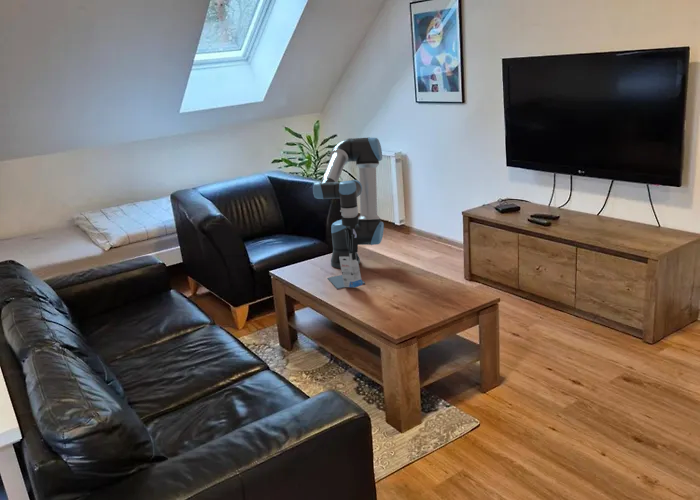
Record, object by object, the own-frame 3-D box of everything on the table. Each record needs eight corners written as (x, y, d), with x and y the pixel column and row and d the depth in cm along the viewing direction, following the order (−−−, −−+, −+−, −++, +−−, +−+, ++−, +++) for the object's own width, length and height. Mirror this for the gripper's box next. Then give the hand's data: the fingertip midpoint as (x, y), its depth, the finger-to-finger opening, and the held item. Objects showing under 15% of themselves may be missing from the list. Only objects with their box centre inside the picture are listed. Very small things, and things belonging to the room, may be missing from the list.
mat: (327, 278, 313) (327, 277, 313) (354, 273, 317) (354, 272, 317) (337, 289, 299) (337, 288, 298) (365, 284, 303) (365, 282, 302)
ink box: (363, 285, 295) (357, 254, 293) (354, 287, 292) (349, 256, 290) (352, 284, 302) (346, 254, 300) (343, 287, 299) (338, 256, 297)
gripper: (337, 214, 289) (341, 263, 296) (346, 220, 277) (350, 271, 284) (352, 211, 291) (356, 260, 298) (362, 217, 279) (366, 268, 286)
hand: (353, 265), depth 291 cm, fingers closed
